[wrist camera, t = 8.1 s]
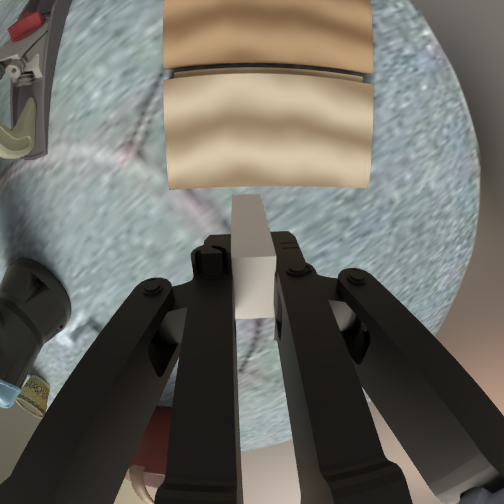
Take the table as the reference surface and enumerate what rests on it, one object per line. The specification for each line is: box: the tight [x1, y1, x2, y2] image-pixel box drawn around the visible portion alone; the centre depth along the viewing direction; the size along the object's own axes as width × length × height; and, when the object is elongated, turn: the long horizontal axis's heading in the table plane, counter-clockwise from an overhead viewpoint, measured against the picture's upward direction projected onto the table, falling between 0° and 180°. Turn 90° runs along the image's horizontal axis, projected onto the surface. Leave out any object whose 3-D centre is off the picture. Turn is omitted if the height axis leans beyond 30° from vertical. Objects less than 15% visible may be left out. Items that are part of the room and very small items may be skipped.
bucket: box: [124, 406, 172, 504], centre depth 50 cm, size 24×22×25 cm
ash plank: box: [163, 67, 373, 190], centre depth 27 cm, size 13×22×2 cm, turn 90°
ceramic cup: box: [15, 375, 50, 419], centre depth 50 cm, size 13×10×10 cm
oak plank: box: [163, 0, 373, 74], centre depth 21 cm, size 10×22×2 cm, turn 91°
